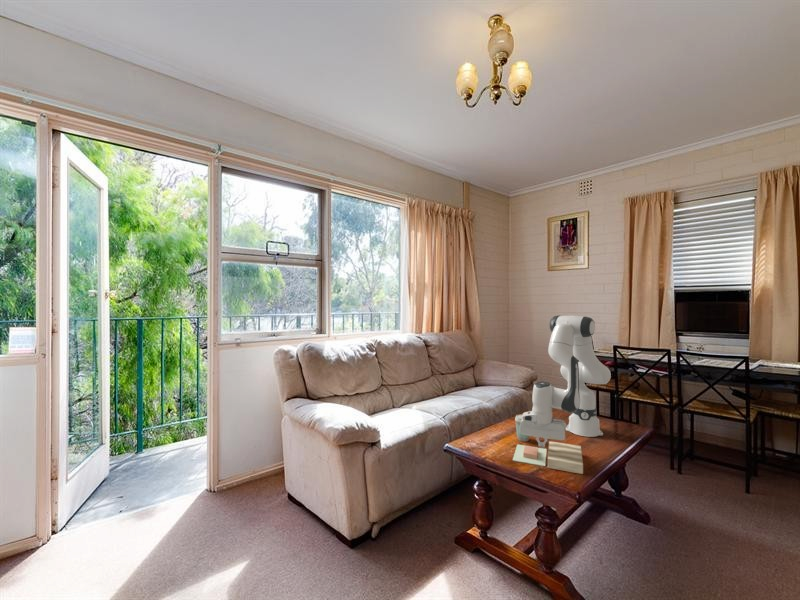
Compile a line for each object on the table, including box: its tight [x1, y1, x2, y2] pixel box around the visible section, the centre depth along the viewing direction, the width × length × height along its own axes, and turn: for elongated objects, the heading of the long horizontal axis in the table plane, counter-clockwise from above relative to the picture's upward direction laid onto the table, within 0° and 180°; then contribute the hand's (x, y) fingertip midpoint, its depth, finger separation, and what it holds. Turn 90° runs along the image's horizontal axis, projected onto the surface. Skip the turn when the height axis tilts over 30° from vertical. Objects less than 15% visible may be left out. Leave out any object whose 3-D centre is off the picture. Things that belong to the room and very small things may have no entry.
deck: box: [547, 441, 584, 475], centre depth 170 cm, size 22×14×4 cm, turn 156°
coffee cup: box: [514, 414, 530, 442], centre depth 195 cm, size 8×9×12 cm
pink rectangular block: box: [523, 445, 539, 459], centre depth 176 cm, size 9×6×2 cm, turn 156°
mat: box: [511, 443, 548, 467], centre depth 176 cm, size 20×14×1 cm
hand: (541, 446), depth 174 cm, fingers closed
